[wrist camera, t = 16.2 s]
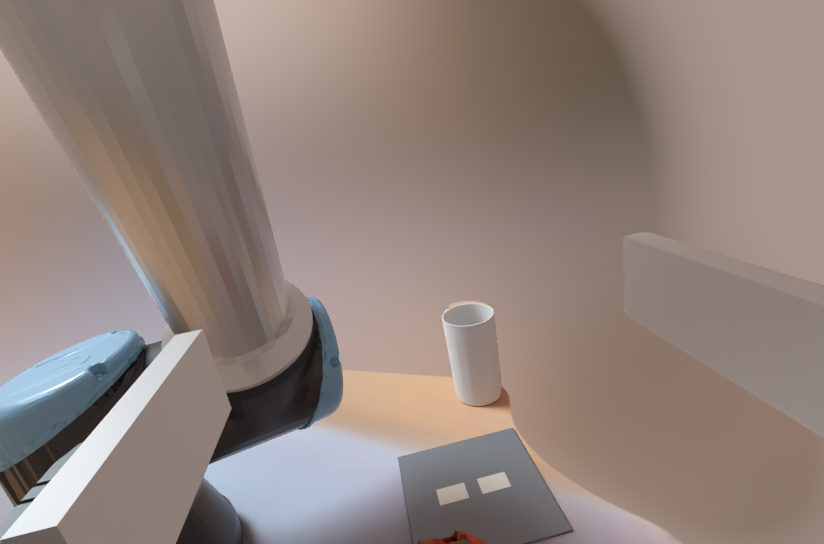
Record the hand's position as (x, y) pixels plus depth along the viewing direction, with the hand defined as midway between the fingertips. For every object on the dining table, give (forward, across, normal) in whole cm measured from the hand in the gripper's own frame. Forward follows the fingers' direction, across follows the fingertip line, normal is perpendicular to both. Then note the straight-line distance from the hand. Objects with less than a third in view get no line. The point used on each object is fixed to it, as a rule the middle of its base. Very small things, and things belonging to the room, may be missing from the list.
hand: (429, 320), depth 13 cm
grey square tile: (+22, +4, -30) cm, 37 cm away
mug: (+39, +9, -30) cm, 50 cm away
